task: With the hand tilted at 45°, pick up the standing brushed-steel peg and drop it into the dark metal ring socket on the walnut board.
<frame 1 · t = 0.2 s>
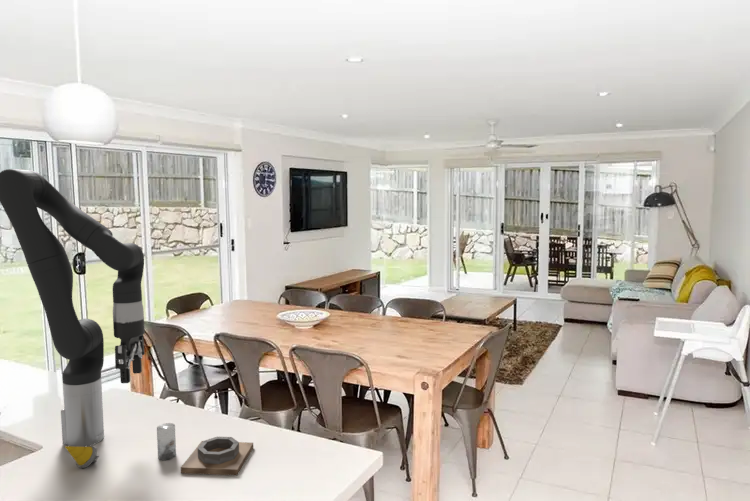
hand: (131, 377, 147), 18 cm above the kitchen counter, fingers open, 8 cm apart
steel peg: (167, 456, 141), on the kitchen counter
drill bit: (83, 468, 136), on the kitchen counter
socket board: (218, 460, 140), on the kitchen counter
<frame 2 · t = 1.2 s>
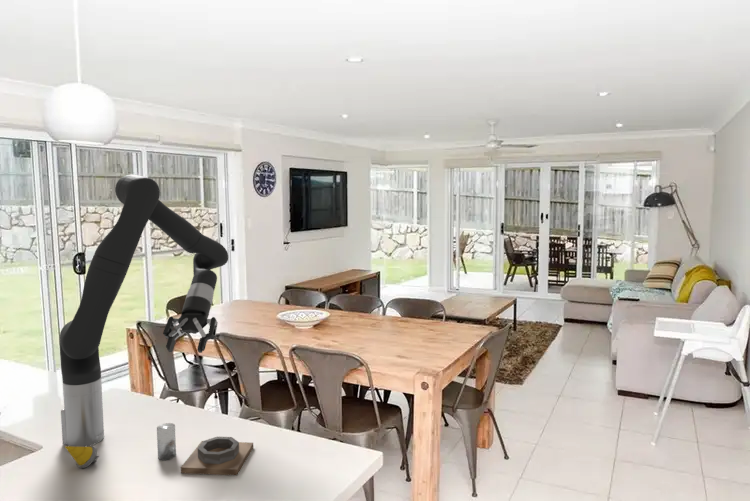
hand: (184, 351, 152), 24 cm above the kitchen counter, fingers open, 8 cm apart
nothing on the kitchen counter moved.
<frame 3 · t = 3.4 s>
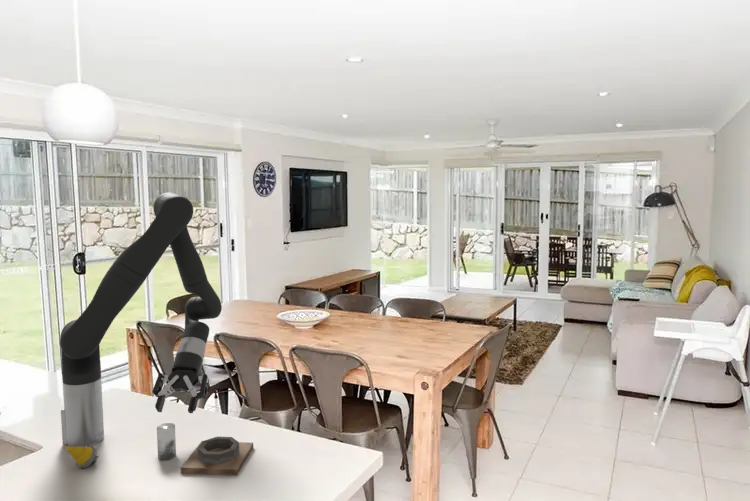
hand: (174, 411, 145), 10 cm above the kitchen counter, fingers open, 8 cm apart
nothing on the kitchen counter moved.
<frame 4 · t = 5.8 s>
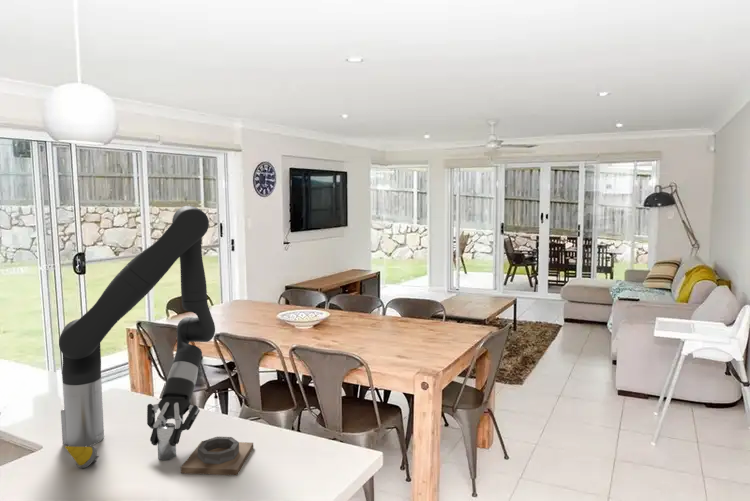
hand: (163, 444, 139), 4 cm above the kitchen counter, fingers closed on steel peg, 4 cm apart
steel peg: (167, 456, 141), on the kitchen counter, touching gripper
everything else where it was.
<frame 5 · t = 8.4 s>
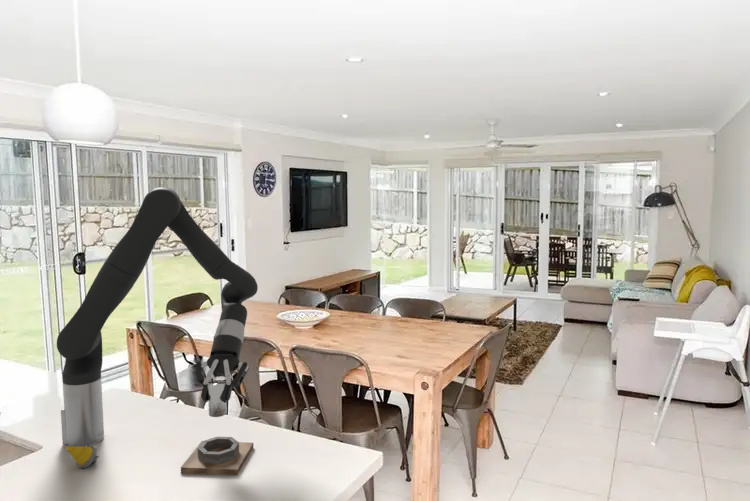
hand: (214, 400, 136), 16 cm above the kitchen counter, fingers closed on steel peg, 4 cm apart
steel peg: (217, 413, 139), point 12 cm above the kitchen counter, touching gripper
everything else where it was.
when the fingers open (7 cm above the kitchen counter, at t = 11.0 s): steel peg drops 1 cm, resting on socket board.
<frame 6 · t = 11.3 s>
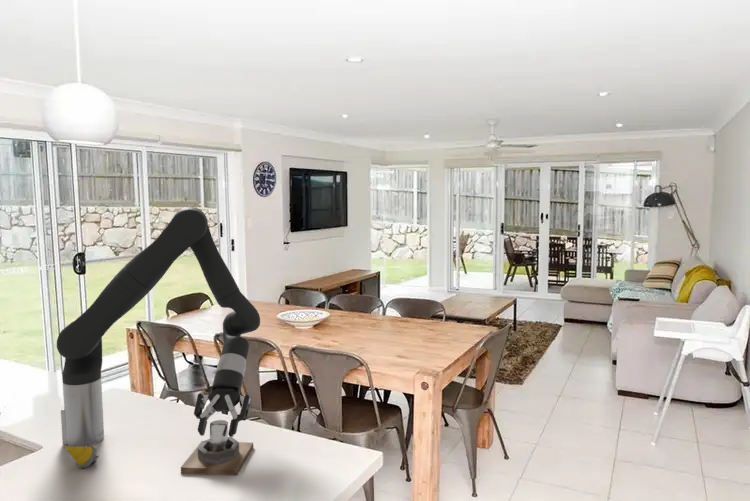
hand: (216, 435, 137), 7 cm above the kitchen counter, fingers open, 7 cm apart
steel peg: (218, 453, 140), point 2 cm above the kitchen counter, touching socket board
everything else where it was.
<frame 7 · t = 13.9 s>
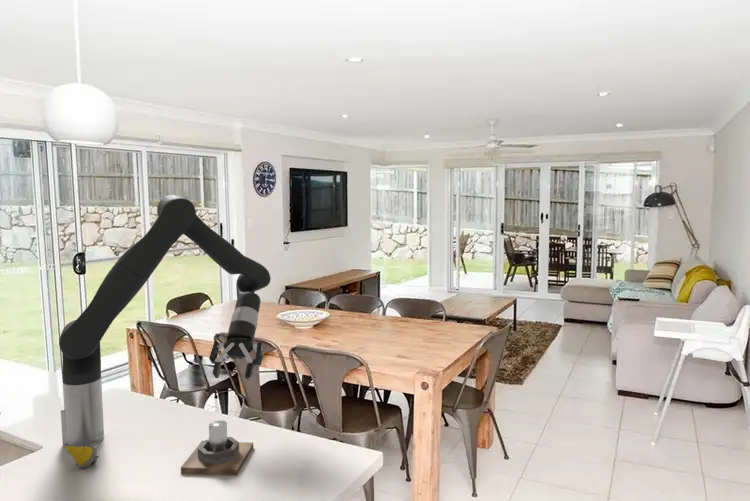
hand: (231, 377, 149), 18 cm above the kitchen counter, fingers open, 8 cm apart
nothing on the kitchen counter moved.
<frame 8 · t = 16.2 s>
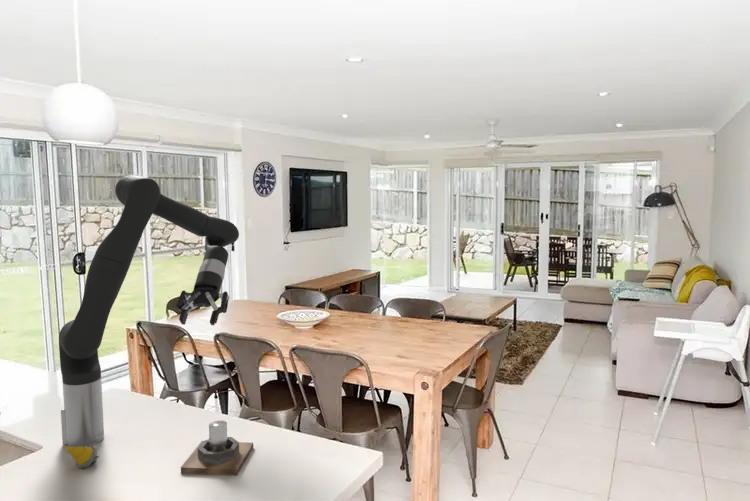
hand: (197, 323, 155), 31 cm above the kitchen counter, fingers open, 8 cm apart
nothing on the kitchen counter moved.
at the end: steel peg 0.2 cm off-centre on the socket board, point 1.5 cm above the socket board's base; steel peg tilted 0°; the gripper is holding nothing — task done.
